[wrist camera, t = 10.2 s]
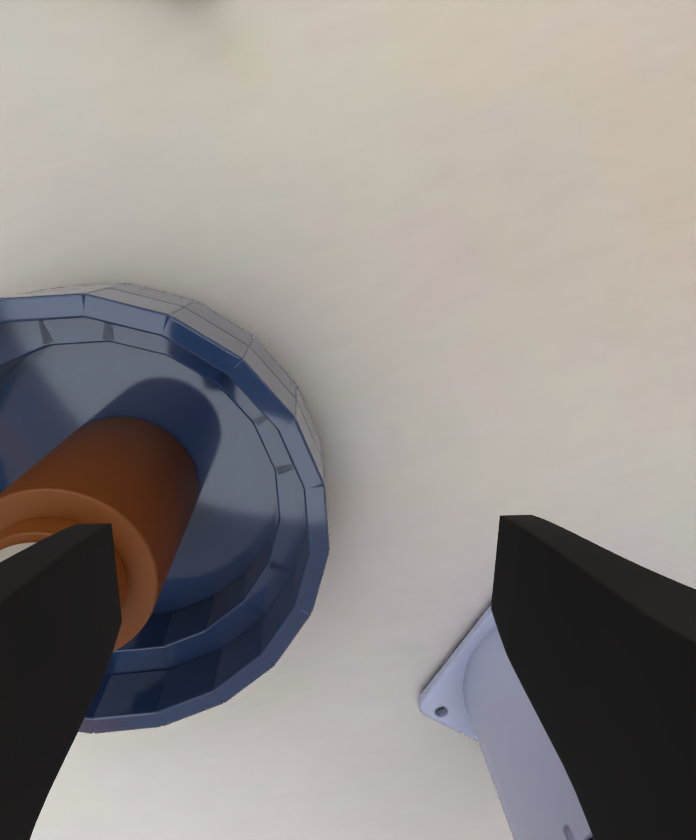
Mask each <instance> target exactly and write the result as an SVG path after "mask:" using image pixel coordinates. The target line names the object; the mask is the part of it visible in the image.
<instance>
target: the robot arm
mask: <svg viewBox="0 0 696 840" xmlns="http://www.w3.org/2000/svg"><path fill="white" fill-rule="evenodd" d="M121 623H122V615H121V606H120V597H119V588H118V579H117V570H116V560H115V551H114V542H113V533H112V524H111V523H106V524H76V525H73V526H70V527H68V528H65V529H63V530H61V531H59V532H57V533H55V534H53V535H51V536H49V537H47V538H45V539H43V540H41V541H39V542H37V543H35V544H33V545H31V546H30V547H28V548H26V549H24V550H22V551H20V552H18V553H16V554H14V555H13V556H11V557H9V558H7V559H5V560H3V561H1V562H0V840H30V837H31V834H32V832H33V829H34V826H35V823H36V821H37V819H38V816H39V814H40V812H41V809H42V807H43V805H44V802H45V800H46V798H47V795H48V793H49V791H50V789H51V787H52V784H53V782H54V780H55V778H56V776H57V774H58V772H59V770H60V768H61V766H62V764H63V762H64V760H65V757H66V755H67V753H68V751H69V749H70V747H71V745H72V743H73V741H74V739H75V737H76V735H77V733H78V730H79V728H80V726H81V724H82V722H83V720H84V718H85V716H86V714H87V712H88V710H89V708H90V705H91V703H92V701H93V699H94V697H95V695H96V693H97V691H98V688H99V686H100V684H101V682H102V680H103V678H104V675H105V673H106V671H107V668H108V665H109V662H110V659H111V656H112V653H113V650H114V647H115V643H116V640H117V637H118V633H119V630H120V627H121ZM418 706H419V710H420V712H421V713H422V714H424V715H425V716H427V717H429V718H432V719H434V720H436V721H438V722H440V723H442V724H444V725H446V726H448V727H450V728H452V729H454V730H456V731H458V732H460V733H462V734H464V735H466V736H469V737H471V738H473V739H475V740H477V741H479V743H480V746H481V749H482V752H483V755H484V758H485V760H486V763H487V766H488V769H489V772H490V774H491V777H492V780H493V783H494V786H495V788H496V791H497V794H498V797H499V800H500V802H501V805H502V808H503V811H504V814H505V816H506V819H507V822H508V825H509V828H510V830H511V833H512V836H513V839H514V840H696V589H693V588H691V587H688V586H686V585H683V584H681V583H678V582H676V581H674V580H672V579H669V578H667V577H665V576H662V575H660V574H658V573H656V572H653V571H651V570H649V569H646V568H644V567H642V566H640V565H638V564H636V563H633V562H631V561H629V560H627V559H625V558H623V557H621V556H619V555H617V554H614V553H612V552H610V551H608V550H606V549H604V548H602V547H600V546H598V545H596V544H594V543H592V542H590V541H588V540H586V539H584V538H582V537H580V536H578V535H576V534H574V533H572V532H570V531H568V530H566V529H564V528H562V527H560V526H558V525H556V524H553V523H551V522H549V521H547V520H544V519H542V518H539V517H536V516H533V515H507V516H500V521H499V532H498V542H497V552H496V563H495V573H494V583H493V594H492V604H491V605H490V606H489V608H488V609H487V610H486V611H485V613H484V614H483V615H482V617H481V618H480V619H479V620H478V622H477V623H476V624H475V626H474V627H473V628H472V629H471V631H470V632H469V633H468V634H467V636H466V637H465V638H464V640H463V641H462V642H461V643H460V645H459V646H458V647H457V649H456V650H455V651H454V652H453V654H452V655H451V656H450V657H449V659H448V660H447V661H446V663H445V664H444V665H443V666H442V668H441V669H440V670H439V672H438V673H437V674H436V675H435V677H434V678H433V679H432V680H431V682H430V683H429V684H428V686H427V687H426V688H425V689H424V691H423V692H422V693H421V695H420V696H419V698H418ZM442 706H443V707H444V708H443V709H440V710H437V708H438V707H442Z"/></svg>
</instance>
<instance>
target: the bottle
mask: <svg viewBox="0 0 696 840" xmlns="http://www.w3.org/2000/svg"><path fill="white" fill-rule="evenodd" d="M197 497H198V478H197V473H196V469H195V467H194V464H193V462H192V460H191V458H190V456H189V454H188V452H187V451H186V450H185V448H184V447H183V446H182V445H181V443H180V442H179V441H178V440H177V439H176V438H175V437H173V436H172V435H171V434H170V433H168V432H167V431H165V430H164V429H162V428H161V427H159V426H157V425H154V424H152V423H150V422H147V421H144V420H141V419H136V418H131V417H109V418H103V419H99V420H96V421H93V422H91V423H88V424H86V425H84V426H82V427H81V428H79V429H78V430H76V431H75V432H74V433H73V434H71V435H70V436H69V437H68V438H66V439H65V440H64V441H63V442H62V443H60V444H59V445H58V446H57V447H56V448H54V449H53V450H52V451H51V452H50V453H48V454H47V455H46V456H45V457H43V458H42V459H41V460H40V461H39V462H37V463H36V464H35V465H34V466H33V467H31V468H30V469H29V470H28V471H27V472H25V473H24V474H23V475H22V476H20V477H19V478H18V479H17V480H16V481H14V482H13V483H12V484H11V485H10V486H8V487H7V488H6V489H5V490H4V491H2V492H1V493H0V562H1V561H3V560H5V559H7V558H9V557H11V556H13V555H14V554H16V553H18V552H20V551H22V550H24V549H26V548H28V547H30V546H31V545H33V544H35V543H37V542H39V541H41V540H43V539H45V538H47V537H49V536H51V535H53V534H55V533H57V532H59V531H61V530H63V529H65V528H68V527H70V526H73V525H76V524H106V523H111V524H112V533H113V542H114V551H115V560H116V570H117V579H118V588H119V597H120V606H121V615H122V623H121V627H120V630H119V633H118V637H117V640H116V643H115V647H114V650H113V651H115V650H117V649H119V648H120V647H122V646H124V645H125V644H126V643H127V642H129V641H130V640H131V639H133V638H134V637H135V636H136V635H137V634H138V633H139V632H140V631H141V629H142V628H143V627H144V625H145V624H146V623H147V621H148V619H149V617H150V616H151V614H152V612H153V609H154V607H155V604H156V602H157V599H158V597H159V595H160V592H161V590H162V587H163V585H164V582H165V580H166V577H167V575H168V572H169V570H170V567H171V565H172V562H173V560H174V558H175V555H176V553H177V550H178V548H179V545H180V543H181V540H182V538H183V535H184V533H185V530H186V528H187V525H188V523H189V521H190V518H191V516H192V513H193V511H194V508H195V505H196V502H197Z"/></svg>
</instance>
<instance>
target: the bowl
mask: <svg viewBox="0 0 696 840" xmlns="http://www.w3.org/2000/svg"><path fill="white" fill-rule="evenodd" d="M109 417H131V418H136V419H141V420H144V421H147V422H150V423H152V424H154V425H157V426H159V427H161V428H162V429H164V430H165V431H167V432H168V433H170V434H171V435H172V436H173V437H175V438H176V439H177V440H178V441H179V442H180V443H181V445H182V446H183V447H184V448H185V450H186V451H187V452H188V454H189V456H190V458H191V460H192V462H193V464H194V467H195V469H196V473H197V478H198V497H197V502H196V505H195V508H194V511H193V513H192V516H191V518H190V521H189V523H188V525H187V528H186V530H185V533H184V535H183V538H182V540H181V543H180V545H179V548H178V550H177V553H176V555H175V558H174V560H173V562H172V565H171V567H170V570H169V572H168V575H167V577H166V580H165V582H164V585H163V587H162V590H161V592H160V595H159V597H158V599H157V602H156V604H155V607H154V609H153V612H152V614H151V616H150V617H149V619H148V621H147V623H146V624H145V625H144V627H143V628H142V629H141V631H140V632H139V633H138V634H137V635H136V636H135V637H134V638H133V639H131V640H130V641H129V642H127V643H126V644H125V645H124V646H122V647H120V648H119V649H117V650H115V651H113V653H112V656H111V659H110V662H109V665H108V668H107V671H106V673H105V675H104V678H103V680H102V682H101V684H100V686H99V688H98V691H97V693H96V695H95V697H94V699H93V701H92V703H91V705H90V708H89V710H88V712H87V714H86V716H85V718H84V720H83V722H82V724H81V726H80V728H79V730H78V732H84V733H90V734H91V733H93V732H94V733H105V732H115V731H125V730H135V729H144V728H154V727H161V726H165V725H168V724H170V723H173V722H176V721H178V720H181V719H184V718H186V717H189V716H192V715H194V714H197V713H199V712H202V711H205V710H207V709H210V708H213V707H215V706H218V705H221V704H223V702H224V703H225V702H227V701H228V700H229V699H231V698H232V697H233V696H235V695H236V694H237V693H239V692H240V691H241V690H243V689H244V688H245V687H247V686H248V685H249V684H251V683H252V682H253V681H255V680H256V679H257V678H259V677H260V676H261V675H263V674H264V673H265V672H267V671H268V670H269V669H271V668H272V667H273V666H274V665H275V664H276V663H277V662H278V660H279V659H280V657H281V656H282V655H283V653H284V652H285V650H286V649H287V647H288V646H289V645H290V643H291V642H292V640H293V639H294V637H295V636H296V635H297V633H298V632H299V630H300V629H301V628H302V626H303V625H304V623H305V622H306V620H307V619H308V618H309V616H310V615H311V612H312V611H313V608H314V604H315V601H316V597H317V594H318V590H319V587H320V583H321V580H322V576H323V573H324V569H325V565H326V562H327V558H328V555H329V535H328V521H327V507H326V493H325V481H324V470H323V460H322V450H321V442H320V438H319V436H318V433H317V431H316V429H315V426H314V424H313V422H312V419H311V417H310V415H309V412H308V410H307V408H306V405H305V403H304V401H303V398H302V396H301V393H300V391H299V389H298V387H297V386H296V385H295V383H294V381H293V380H292V379H291V378H290V377H289V376H288V375H287V373H286V372H285V371H284V370H283V369H282V368H281V367H280V365H279V364H278V363H277V362H276V361H275V360H274V359H273V357H272V356H271V355H270V354H269V353H268V352H267V351H266V349H265V348H264V347H263V346H262V345H261V344H260V343H259V341H258V340H257V339H256V338H253V335H251V334H250V333H248V332H246V331H245V330H243V329H242V328H240V327H238V326H237V325H235V324H233V323H232V322H230V321H228V320H227V319H225V318H224V317H222V316H220V315H219V314H217V313H215V312H214V311H212V310H210V309H209V308H207V307H206V306H204V305H202V304H201V303H199V302H197V301H195V300H192V299H188V298H184V297H180V296H176V295H172V294H168V293H164V292H160V291H157V290H153V289H149V288H145V287H141V286H137V285H133V284H126V283H121V284H105V285H88V286H71V287H58V288H52V289H47V290H41V291H35V292H30V293H25V294H19V295H13V296H8V297H2V298H0V493H1V492H2V491H4V490H5V489H6V488H7V487H8V486H10V485H11V484H12V483H13V482H14V481H16V480H17V479H18V478H19V477H20V476H22V475H23V474H24V473H25V472H27V471H28V470H29V469H30V468H31V467H33V466H34V465H35V464H36V463H37V462H39V461H40V460H41V459H42V458H43V457H45V456H46V455H47V454H48V453H50V452H51V451H52V450H53V449H54V448H56V447H57V446H58V445H59V444H60V443H62V442H63V441H64V440H65V439H66V438H68V437H69V436H70V435H71V434H73V433H74V432H75V431H76V430H78V429H79V428H81V427H82V426H84V425H86V424H88V423H91V422H93V421H96V420H99V419H103V418H109Z"/></svg>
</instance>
